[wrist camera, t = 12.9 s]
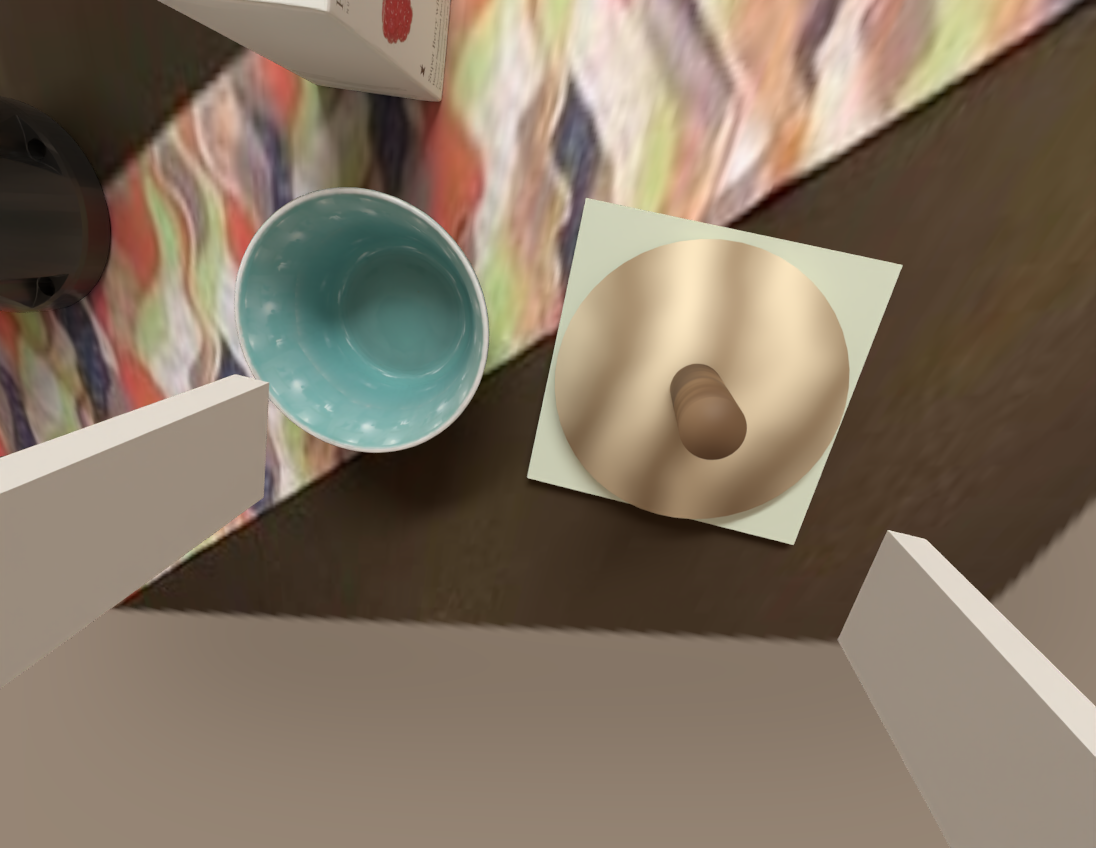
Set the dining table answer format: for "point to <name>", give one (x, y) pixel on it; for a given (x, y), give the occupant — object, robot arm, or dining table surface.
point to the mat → (628, 232)
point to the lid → (702, 378)
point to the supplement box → (340, 40)
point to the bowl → (361, 319)
